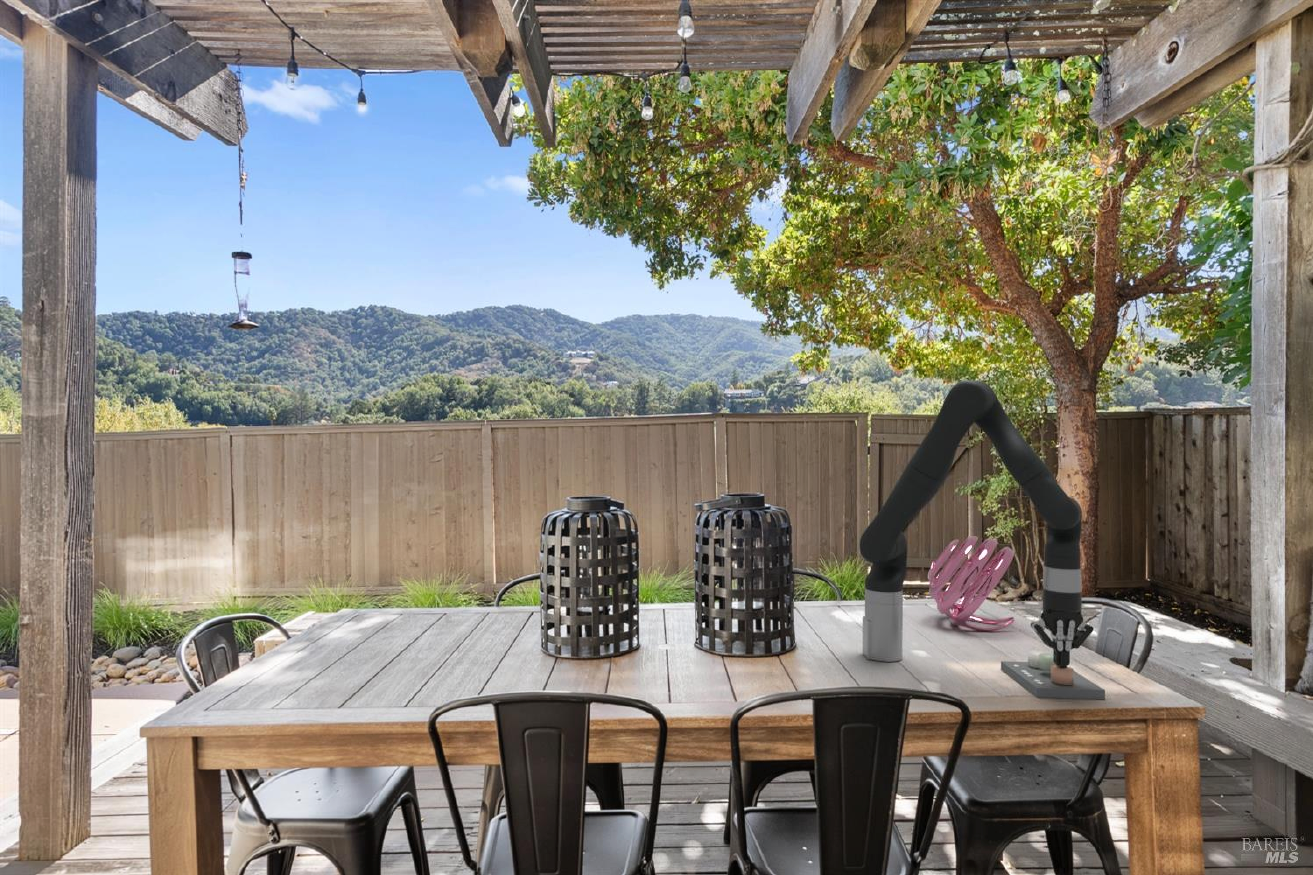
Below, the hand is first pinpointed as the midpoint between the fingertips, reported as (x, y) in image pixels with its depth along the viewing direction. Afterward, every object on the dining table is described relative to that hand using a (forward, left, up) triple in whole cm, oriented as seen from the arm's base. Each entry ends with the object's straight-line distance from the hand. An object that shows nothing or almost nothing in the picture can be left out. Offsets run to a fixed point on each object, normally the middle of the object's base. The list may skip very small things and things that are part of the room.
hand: (1061, 666), depth 165 cm
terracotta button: (0, 0, -3) cm, 3 cm away
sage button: (0, +6, -2) cm, 6 cm away
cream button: (0, +12, -3) cm, 12 cm away
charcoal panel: (0, +6, -6) cm, 8 cm away
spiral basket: (+1, +61, -6) cm, 61 cm away
